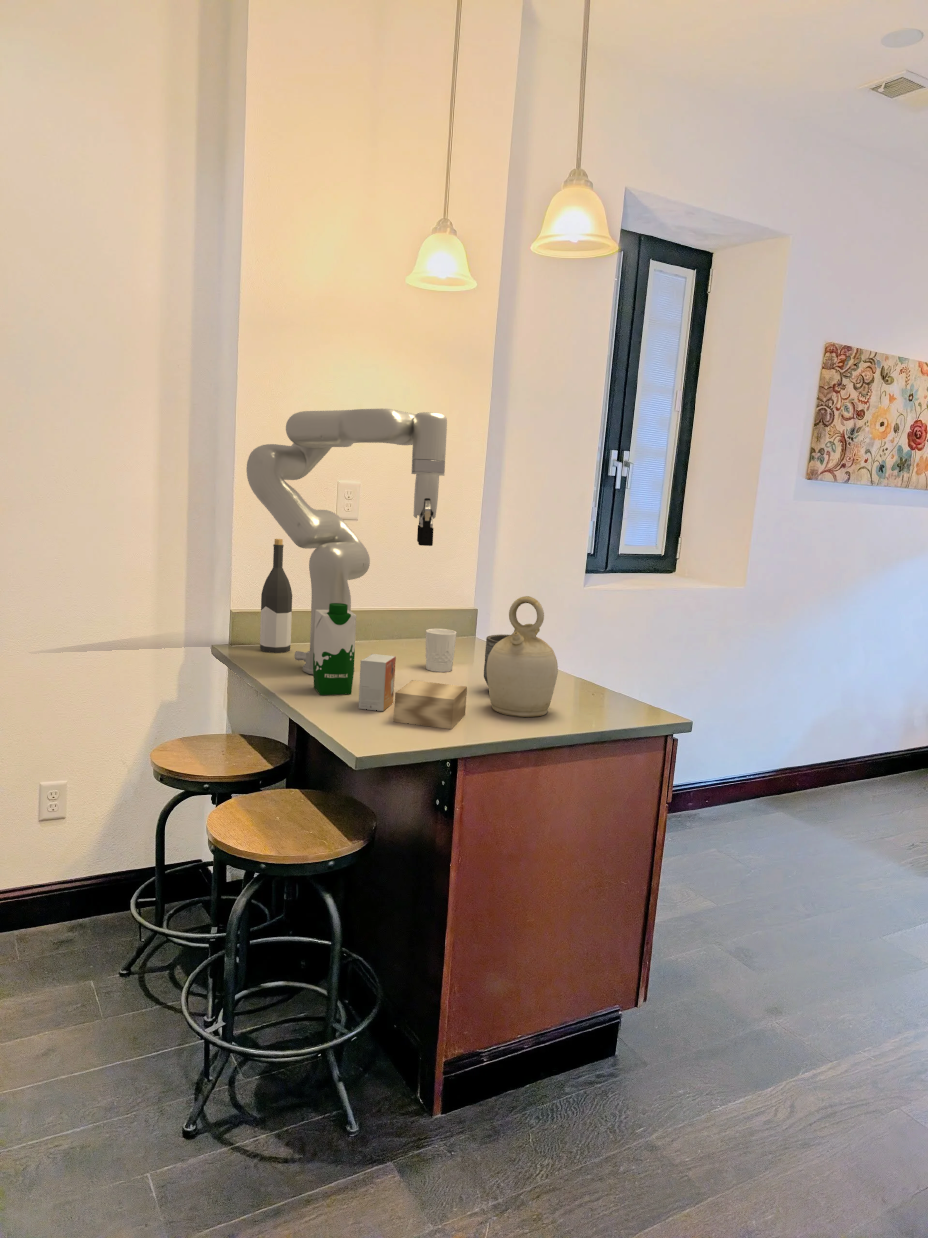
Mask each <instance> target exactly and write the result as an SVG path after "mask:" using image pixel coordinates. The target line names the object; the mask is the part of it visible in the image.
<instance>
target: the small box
mask: <svg viewBox="0 0 928 1238" xmlns="http://www.w3.org/2000/svg"><path fill="white" fill-rule="evenodd" d="M396 659H397V657H396V656H395V655H386V654H379V653H378V654H377V653H371V654H370V655H368V656H367V657H365V658H363V659H361V660H360V665H359V666H360V668H359V685H358V686H359V687H358V688H359V689H358V690H359V691H358V709H359V710H366V709H367V711H376V710H377V711H378V712H385V710H386V709H387V708H388V707H390V706H391V705H393V704H394V698H395V679H396V677H395V676H396V663H397V662H396ZM392 703H393V704H392ZM377 711H376V712H377Z"/></svg>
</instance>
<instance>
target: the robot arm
mask: <svg viewBox="0 0 928 1238" xmlns="http://www.w3.org/2000/svg"><path fill="white" fill-rule="evenodd" d="M447 419H448V418H447V416H446V415H445V414H443V413H439V412H431V411H430V412H428V411H427V412H425V411H422V412H417V413H412V412H407V411H402V410H399V409H392V408H357V409H342V410H340V409H339V410H338V409H337V410H305V411H298V412H294V413H293V414H292V415H290V416H289V418H288V419H287V421H286V424H285V432H286V435H287V438H288V439H289V440H290V442H292V444H291V445H285V444H274V443H268V444H262V445H259V446H256V447H255V448H254V449H253V450H251V452H250V454H249V455H248V458H247V461H246V477H247V482H248V485H249V487H250V489H251V491H252V493H253V494H254V495H255V497H256V498H257V499H258V500H259V502H261V504H262V505H263V506H264V508H266V510H267V511H268V512H269V513H270V514H271V516H273V519H274V520H275V521H276V522H277V523H278V525H279V526H280V527H281V528H282V530H283V531H284V532H285V533H286V534H287V536H288V537H289V539H290V540H291V541H292V542H293V543H294V544H295V545H296V546H297V547H299V548H302V549H310V550H311V549H314V550H313V551H312V552H311V555H310V556H309V557H310V558H309V562H308V568H309V578H310V584H311V586H310V587H311V600H310V601H311V603H310V604H311V606H310V607H311V608H310V609H311V610H310V611H311V612H310V635H309V636H310V637H309V650H308V651H306V652H304V651H301V650H296V651H295V652H294V659H295V661H303V662H304V664H303V665H302V671H303V672H304V673H306V674H309V675H313V653H314V630H315V627H314V625H315V610H329V604H331V603H343V604H347V605H348V610H349V611H351V609H352V596H351V590H350V586H349V583H348V581H350V580H351V581H352V580H356V579H360V578H362V577H363V576H365V575H366V574H367V572H368V571H369V568H370V564H371V558H370V554H369V551H368V550H367V548H366V547H365V545H364V544H363V542H362V541H361V540H360V539H359V538H358V536H357V535H356V534H355V533H354V531H353V530H352V529H351V528H350V527H349V526H348V524H347V523H346V522H345V520H344V519H342V517H341V516H339V515H338V514H336V513H335V512H333V511H331V510H327V509H316V508H313V507H311V505H310V504H308V502H307V501H305V499H304V498H303V497H302V496H301V494H300V493H299V492H298V491H297V490H296V489H295V488H294V487H293V486H291V485H290V484H289V483H287V482H286V480H287V481H297V480H300V479H303V478H305V477H306V476H307V475H308V474H309V473H311V471H312V470H313V469H314V468H315V467H316V466H317V465H318V464H319V463H320V462H321V461H322V460H323V458H325V456H326V455H327V454H328V453H329V452H330V450H331V449H332V448H349V447H351V446H353V444H357V443H358V444H360V443H361V444H365V443H369V444H370V443H371V444H372V443H373V444H374V443H375V444H376V443H377V444H382V443H383V444H392V445H397V446H412V451H411V452H412V453H411V454H412V456H411V457H412V458H411V471H410V472H411V475H415V479H414V480H415V481H414V482H415V483H414V496H413V498H414V500H413V517H414V519H418V525H417V532H416V533H417V534H416V535H417V539H416V541H417V543H418V545H419V546H422V547H423V546H425V547H427V546H428V547H432V546H433V544H434V527H433V526H434V525H433V524H434V523H433V522H434V519H436V516H437V510H438V501H439V500H438V499H439V485H440V477H442V476H444V477H445V475H446V472H445V471H446V455H447V454H446V453H447V451H446V450H447V449H446V448H447V435H448V434H447V433H448V432H447V431H448V420H447ZM418 516H419V517H418Z"/></svg>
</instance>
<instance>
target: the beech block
mask: <svg viewBox="0 0 928 1238" xmlns="http://www.w3.org/2000/svg"><path fill="white" fill-rule="evenodd" d="M467 693H468V687H467V686H463V685H458V684H457V685H456V684H447V683H437V682H430V681H423V680H421V681H420V680H413V679H412V680H411V681H409V682H407V683H406V684H405V685H403V686H402V687H400V688H399V689H398V690H396V691H394V710H393V722H394V723H400V724H407V723H409V725H415V724H416V725H417V726H424V727H432V728H439V729H448V730H453V729H454V727H456V726H457V724H458V723H459V722H460V721H461V720H462V719H463V718H464V717H465V716H466V708H467V707H466V706H467ZM416 725H415V726H416Z"/></svg>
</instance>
